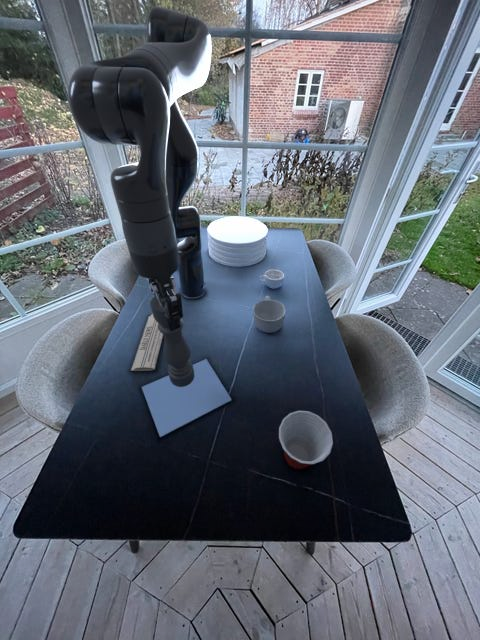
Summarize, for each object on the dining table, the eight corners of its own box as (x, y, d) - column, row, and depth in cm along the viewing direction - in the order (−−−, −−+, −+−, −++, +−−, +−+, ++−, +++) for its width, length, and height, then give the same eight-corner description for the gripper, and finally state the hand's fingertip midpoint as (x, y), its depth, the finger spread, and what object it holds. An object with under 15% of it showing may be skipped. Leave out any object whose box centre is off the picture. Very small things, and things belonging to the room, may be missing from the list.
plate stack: (215, 235, 142) (214, 214, 134) (267, 240, 139) (269, 218, 131) (202, 263, 122) (200, 240, 114) (263, 269, 119) (265, 246, 111)
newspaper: (155, 370, 78) (153, 367, 77) (130, 370, 78) (129, 367, 77) (168, 316, 95) (167, 312, 94) (148, 316, 95) (147, 312, 94)
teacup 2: (281, 339, 89) (284, 322, 83) (249, 334, 90) (250, 317, 84) (284, 312, 98) (287, 295, 93) (255, 308, 100) (257, 291, 94)
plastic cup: (269, 434, 66) (274, 411, 57) (311, 431, 66) (323, 407, 58) (277, 484, 58) (285, 465, 49) (325, 480, 59) (341, 460, 50)
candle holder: (198, 370, 69) (187, 295, 52) (187, 390, 65) (171, 315, 47) (177, 363, 70) (159, 288, 53) (165, 382, 66) (141, 307, 49)
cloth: (141, 387, 74) (141, 387, 74) (206, 359, 82) (206, 358, 82) (160, 437, 64) (159, 437, 64) (231, 400, 72) (231, 399, 72)
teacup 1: (282, 280, 113) (284, 270, 109) (282, 291, 108) (284, 280, 104) (258, 279, 114) (259, 268, 110) (258, 289, 108) (259, 278, 104)
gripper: (192, 256, 39) (201, 334, 50) (160, 219, 48) (174, 293, 59) (141, 270, 36) (163, 350, 48) (117, 228, 45) (140, 304, 56)
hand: (169, 318), depth 53 cm, fingers closed on candle holder, 5 cm apart
